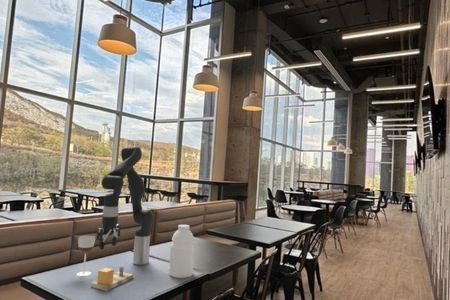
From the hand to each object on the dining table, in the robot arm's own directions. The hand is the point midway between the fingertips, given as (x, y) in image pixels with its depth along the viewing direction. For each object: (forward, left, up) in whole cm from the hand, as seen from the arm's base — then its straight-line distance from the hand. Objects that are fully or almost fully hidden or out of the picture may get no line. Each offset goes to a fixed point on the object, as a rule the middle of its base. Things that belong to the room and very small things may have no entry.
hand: (107, 247), depth 156 cm
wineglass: (-8, -22, -20) cm, 31 cm away
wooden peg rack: (-6, 0, -19) cm, 20 cm away
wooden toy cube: (0, 0, -17) cm, 17 cm away
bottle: (-35, +24, -20) cm, 47 cm away
